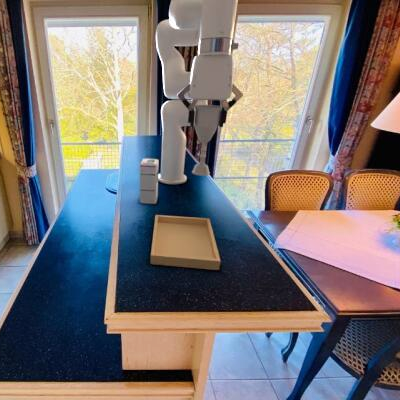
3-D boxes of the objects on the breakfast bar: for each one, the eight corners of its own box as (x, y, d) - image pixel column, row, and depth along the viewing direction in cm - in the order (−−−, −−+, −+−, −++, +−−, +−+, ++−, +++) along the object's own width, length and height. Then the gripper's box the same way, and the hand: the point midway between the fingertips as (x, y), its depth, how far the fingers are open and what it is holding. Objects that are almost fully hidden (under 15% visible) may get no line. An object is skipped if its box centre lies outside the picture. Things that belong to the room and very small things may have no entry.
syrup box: (156, 204, 91) (157, 163, 84) (139, 203, 92) (139, 162, 85) (157, 197, 96) (159, 158, 89) (141, 196, 97) (142, 157, 90)
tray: (155, 222, 80) (155, 214, 79) (208, 226, 78) (209, 218, 76) (150, 264, 62) (150, 255, 61) (218, 270, 60) (220, 261, 59)
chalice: (183, 170, 77) (188, 105, 70) (202, 167, 80) (209, 104, 72) (198, 178, 71) (206, 108, 64) (218, 174, 74) (228, 106, 66)
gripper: (248, 49, 65) (236, 124, 72) (177, 51, 67) (172, 123, 75) (257, 46, 58) (243, 129, 66) (177, 48, 60) (172, 128, 68)
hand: (205, 125), depth 70 cm, fingers closed on chalice, 6 cm apart
